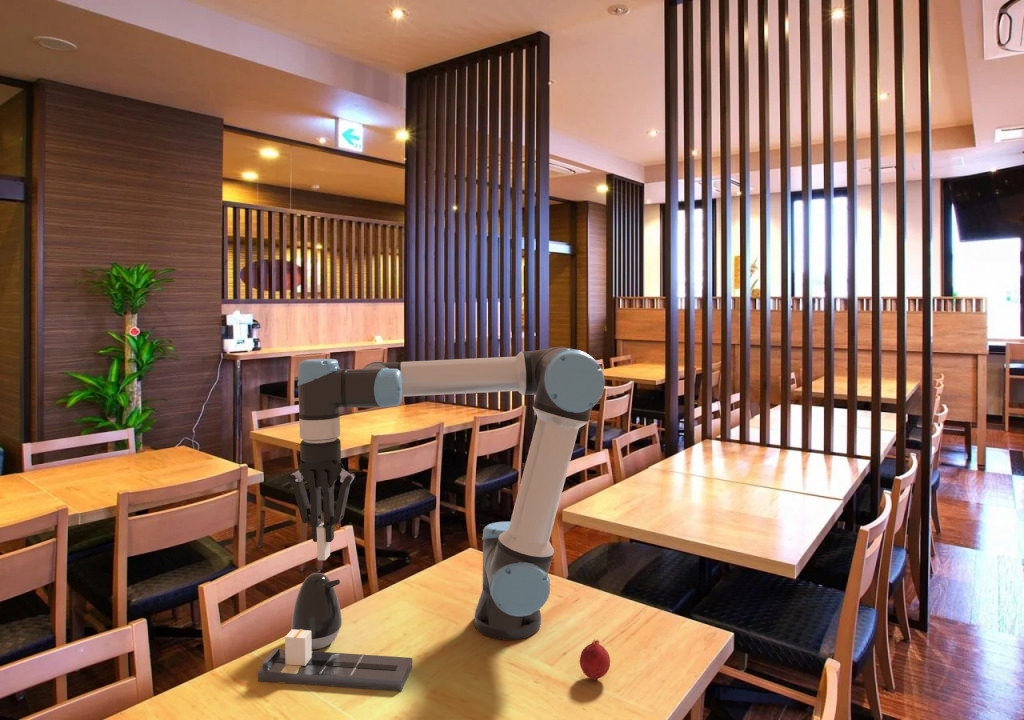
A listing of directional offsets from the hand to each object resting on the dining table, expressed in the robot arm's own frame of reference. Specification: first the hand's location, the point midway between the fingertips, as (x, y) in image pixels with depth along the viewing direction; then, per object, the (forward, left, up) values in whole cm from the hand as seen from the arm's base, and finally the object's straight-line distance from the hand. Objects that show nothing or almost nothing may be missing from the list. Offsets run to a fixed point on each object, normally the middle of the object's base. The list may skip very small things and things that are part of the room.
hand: (323, 557), depth 125 cm
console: (-3, +2, -22) cm, 23 cm away
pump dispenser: (+5, -9, -23) cm, 25 cm away
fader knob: (+4, +2, -20) cm, 21 cm away
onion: (-53, -2, -23) cm, 58 cm away
